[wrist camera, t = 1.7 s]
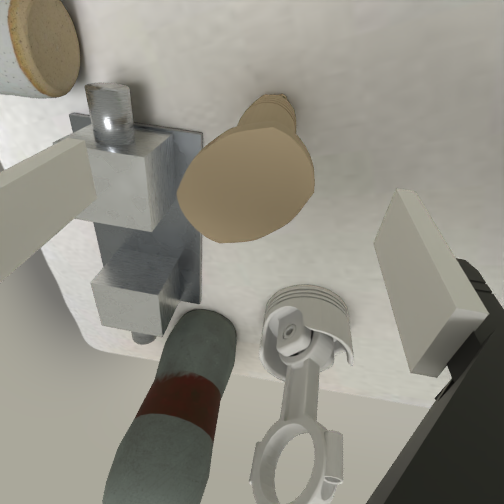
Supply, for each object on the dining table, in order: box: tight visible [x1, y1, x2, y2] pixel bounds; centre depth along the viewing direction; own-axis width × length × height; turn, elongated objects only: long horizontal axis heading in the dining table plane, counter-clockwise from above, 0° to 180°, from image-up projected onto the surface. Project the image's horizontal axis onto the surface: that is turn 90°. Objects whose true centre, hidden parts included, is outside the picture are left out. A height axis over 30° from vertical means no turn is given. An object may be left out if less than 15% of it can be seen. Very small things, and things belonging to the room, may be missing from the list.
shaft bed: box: [53, 83, 203, 344], centre depth 32 cm, size 12×28×7 cm, turn 174°
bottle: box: [103, 310, 236, 504], centre depth 32 cm, size 9×9×30 cm
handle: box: [177, 94, 315, 243], centre depth 20 cm, size 5×6×15 cm
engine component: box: [249, 285, 354, 504], centre depth 32 cm, size 11×20×10 cm
